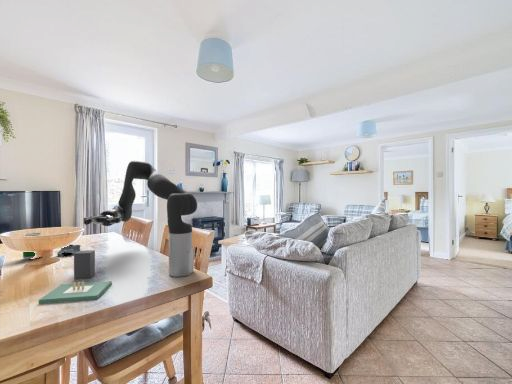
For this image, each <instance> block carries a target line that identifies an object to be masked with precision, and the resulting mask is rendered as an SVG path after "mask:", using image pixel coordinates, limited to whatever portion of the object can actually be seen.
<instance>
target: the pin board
mask: <svg viewBox="0 0 512 384" xmlns="http://www.w3.org/2000/svg"><path fill="white" fill-rule="evenodd" d="M112 284H113V281H111V280H106V281H92V282H91V281H90V282H85V281H81V282H80V281H77V283H76V281H74V282H72V283H62V284H59V286H57V287H56V288H54V289H52V290H51V291H50V292H48V293H46V294H45V295H43V296H42V297H41V298H39V299H38V305H39V304H40V305H42V304H52V303H55V304H56V303H64V302H78V301H89V300H91V301H92V300H98V299H99V298H100V297H101V296H102V295H103V294H104V293H105V292H106V291H107V290H108V289H109V288H110V287H111V286H112Z"/></svg>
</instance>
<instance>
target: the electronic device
mask: <svg viewBox="0 0 512 384" xmlns="http://www.w3.org/2000/svg"><path fill="white" fill-rule="evenodd" d="M66 246H67V245H66ZM81 247H82V246H81V244H69V245H68V246H67V247H64V248H62V247H61V249H60V250H59V251H58V252H57V256H58V257H60V256H61V257H60V258H62V257H63V258H65V257H72V256H73V257H74V253H76V252H78V251H81ZM64 252H65V253H64ZM62 253H64V254H62ZM67 254H68V255H67ZM64 255H67V256H64Z"/></svg>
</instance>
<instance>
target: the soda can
mask: <svg viewBox="0 0 512 384" xmlns="http://www.w3.org/2000/svg"><path fill="white" fill-rule="evenodd" d="M39 235H43V234H42V233H41V232H33V233H27V234H25V235H24V236H39ZM34 256H35V253H34V252H23V251H22V258H23V259H31V258H33V257H34Z"/></svg>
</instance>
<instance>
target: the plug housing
mask: <svg viewBox="0 0 512 384" xmlns="http://www.w3.org/2000/svg"><path fill="white" fill-rule="evenodd" d="M95 274H96V250H95V249H94V250H93V249H92V250H88V249H87V250H80V251H78V252H76V253H74V255H73V280H85V279H91V278H93V277H94V276H96V275H95Z"/></svg>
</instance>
